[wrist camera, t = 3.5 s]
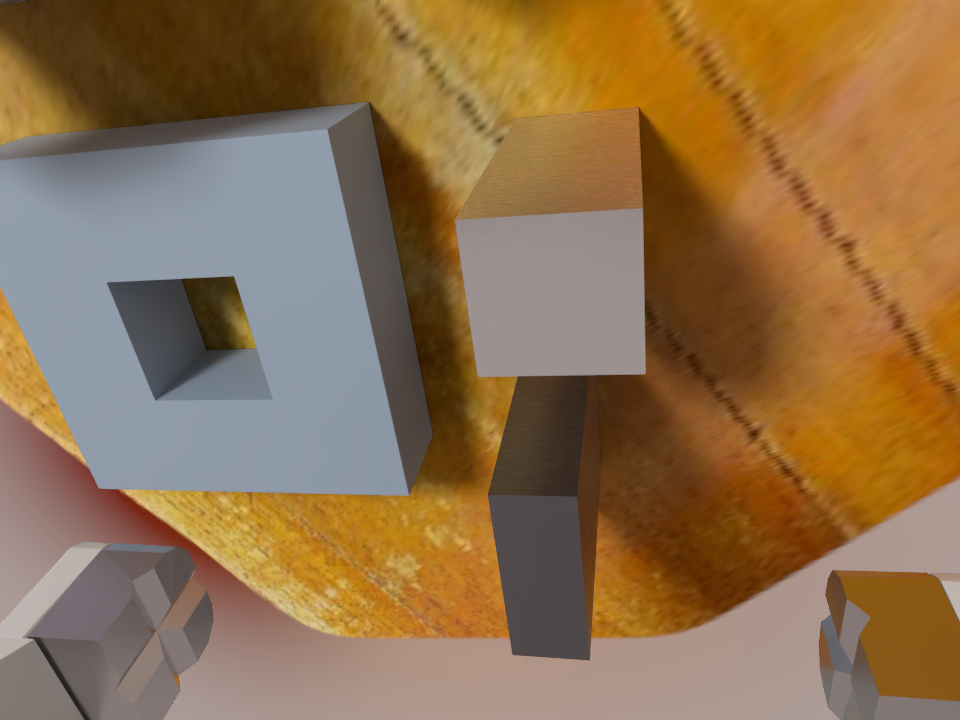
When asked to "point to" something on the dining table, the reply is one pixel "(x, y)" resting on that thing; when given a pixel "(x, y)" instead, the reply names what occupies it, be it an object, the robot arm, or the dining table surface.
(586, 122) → the square bit
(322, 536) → the dining table surface
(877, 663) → the robot arm
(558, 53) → the dining table surface
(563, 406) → the dark grey rectangular slab
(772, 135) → the dining table surface
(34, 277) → the bore block
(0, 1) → the can
